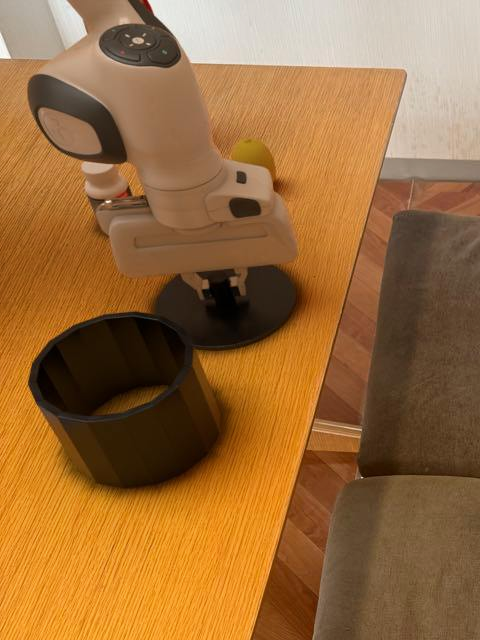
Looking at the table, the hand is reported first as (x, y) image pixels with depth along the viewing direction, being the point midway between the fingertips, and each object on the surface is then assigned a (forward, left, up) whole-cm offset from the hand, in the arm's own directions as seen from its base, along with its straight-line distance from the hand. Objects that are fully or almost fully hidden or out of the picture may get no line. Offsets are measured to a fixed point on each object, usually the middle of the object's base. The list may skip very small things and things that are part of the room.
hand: (223, 294), depth 108 cm
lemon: (+4, +24, -2) cm, 24 cm away
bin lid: (0, 0, -1) cm, 1 cm away
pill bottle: (-14, +19, -2) cm, 24 cm away
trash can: (-8, -20, -2) cm, 22 cm away
